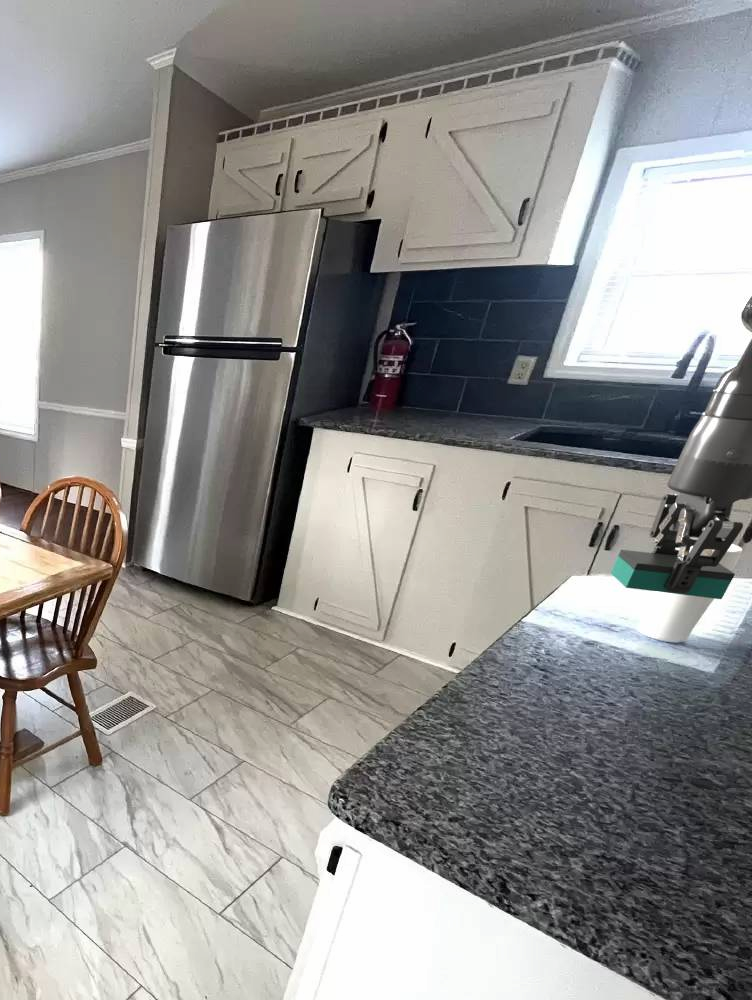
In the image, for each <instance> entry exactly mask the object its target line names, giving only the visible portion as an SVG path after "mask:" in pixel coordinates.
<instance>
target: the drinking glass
mask: <svg viewBox="0 0 752 1000" xmlns="http://www.w3.org/2000/svg"><path fill="white" fill-rule="evenodd" d="M690 539H695V540H698V538H695V537H690ZM692 548H693V546H691V547H690V551H691V549H692ZM676 549H678V550H679V548H676ZM690 551H689V552H690ZM714 551H715V550H712V553H711V555H712V554H713V552H714ZM743 551H744V549H743V548H742V547H741V546H739V545H737V544H734V543H732V545H731V546H730V548H729V549H728V551H727V552H726V553H725V555H724V556H723V558H722V559H721V561H720V562H719V563H720V564H721V565H722V566H724V567H725V568H727V569H728V570H730V571H731V572H733V573H734V570H735V569H736V567H737V565H738V562H739V560H740V558H741V556H742V553H743ZM677 556H678V555H677ZM650 592H651V593H650V595H649V598H648V600H647V603H646V607H645V610H644V612H643V615H642V617H641V619H640V621H639V623H638V625H637V630H638V632H639V633H641V634H642V635H643V636H645V637H648V638H650V639H653V640H657V641H660V642H664V643H665V642H666V643H674V644H675V643H676V644H678V643H683V642H687V640H688V639H689V638H690V636H691V634H692V632H693V630H694V628H695V627H696V625H697V624H698V622H699V621H700V620H701V618H702V617H703V615H704V614H705V613H706V612H707V610H708V608H709V607H710V606H711V604H712V603H713V601H714V600H715V598H706V597H698V596H690V595H682V594H673V593H665V592H657V591H650Z"/></svg>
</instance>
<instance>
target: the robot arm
mask: <svg viewBox="0 0 752 1000" xmlns="http://www.w3.org/2000/svg"><path fill="white" fill-rule="evenodd" d="M740 316H741V317H740V319H741V323H742V324H743V327H744V328H745V329H746V330H748V331H749V332H750V333H752V294H750V296H749V297H748V298H747V300H746V301H745V302H744V305H743V307H742V309H741V314H740ZM666 484H667V488H668V489H670V490H671V491H674V492H676V493H665V494H663V496H662V497H661V501H660V504H659V507H658V509H657V512H656V515H655V517H654V521H653V524H652V527H651V529H650V532H649V538H652V539H653V541H652V545H653V546H654V548H653V550H652V552H651V553H658V554H668V555H678V556H677V562H675V564H674V566H673V569H672V571H671V573H670V575H669V577H668V579H667V581H666V583H665V585H664V588H665V589H666V590H667V591H671V592H679V593H687V592H689V591H690V589H691V587H692V585H693V583H694V582H695V580H696V578H697V576H698V574H699V572H700V570H701V568H702V567H703V566H704V567H706V566H712V567H716V566H717V565H718V564H719V562H720V561H721V559H722V558H723V556H724V555H725V553H726V552H727V551H728V549H729V548H730V546H731V545H732V544H734V542H735V541H736V539H737V538H738V536H739V534H740V533H741V531H742V530H743V528H744V523H743V522H741V521H731V519H730V517H731V514H732V510H733V506H734V503H735V502H738V501H741V500H750V499H752V338H751V339H750V341H749V343H748V345H747V346H746V348H745V350H744V352H743V354H742V356H741V358H740V359H739V360H738V361H737V363H736V364H733V365H731V366H730V367H728V368H727V369H725V370H724V372H723V373H722V374H721V376H720V377H719V378H718V380H717V382H716V384H715V385H714V388H713V391H712V393H711V394H710V397H709V399H708V401H707V403H706V405H705V407H704V410H703V412H702V414H701V415H700V417H699V419H698V421H697V422H696V424H695V425H694V426H693V429H691V432H690V433H689V435H688V438H687V440H686V442H685V443H684V446H683V448H682V451H681V453H680V455H679V457H678V459H677V461H676V463H675V466H674V468H673V470H672V472H671V474H670V477H669V479H668V481H667V483H666ZM690 537H695V538H698V540H695V539H690ZM691 546H693V548H692V549H691V551H690V547H691ZM676 548H679V550H678V549H676ZM712 550H715V551H714V552H713V554H712V555H711V553H712ZM689 551H690V552H689Z"/></svg>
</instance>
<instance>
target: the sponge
mask: <svg viewBox="0 0 752 1000" xmlns="http://www.w3.org/2000/svg"><path fill="white" fill-rule="evenodd" d="M675 562H677V555H668V554H658V553H652V552H648V551H647V552H646V551H637V550H629V549H620V551H619V553H618V556H617V558H616V560H615V562H614V564H613V567H612V569H611V571H610V574H611V576H613V577H614V578H615V579H616V580H617V581H618V582H619V583H620V584H621V585H622V586H623V587H624V588H626V589H633V590H641V591H649V592H652V591H657V592H665V593H673V594H682V595H690V596H698V597H706V598H714V600H716V599H717V600H722V599H723V598H724V596H725V594H726V592H727V590H728V589H729V586H730V584H731V583H732V581H733V579H734V577H735V576H736V573H735V572H734V571H733V572H731V571H730V570H728V569H727V568H725V567H724V566H722V565H721V564H720V563H719V564H718V565H717V566H716V567H712V566H706V567H704V566H703V567H702V568H701V570H700V572H699V574H698V576H697V578H696V580H695V582H694V583H693V585H692V587H691V589H690V591H689V592H687V593H679V592H671V591H667V590H666V589H665V588H664V585H665V583H666V581H667V579H668V577H669V575H670V573H671V571H672V569H673V566H674V564H675Z"/></svg>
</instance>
